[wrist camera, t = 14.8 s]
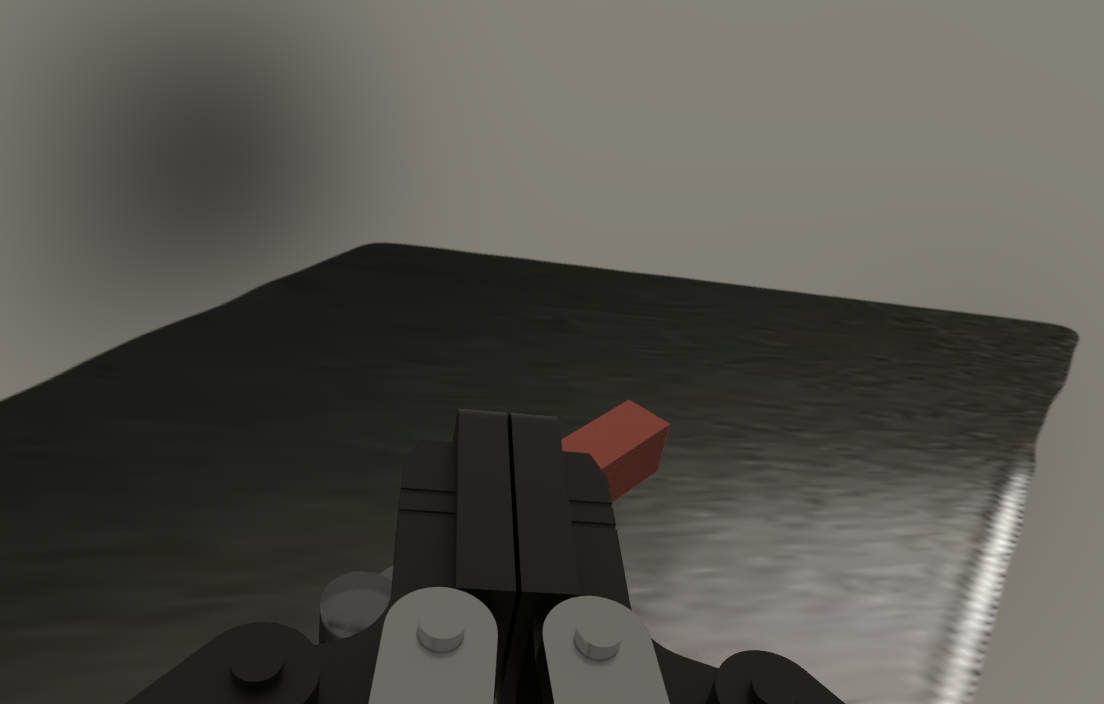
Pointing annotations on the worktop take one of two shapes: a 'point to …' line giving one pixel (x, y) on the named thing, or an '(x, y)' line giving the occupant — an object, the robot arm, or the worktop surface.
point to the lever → (612, 440)
